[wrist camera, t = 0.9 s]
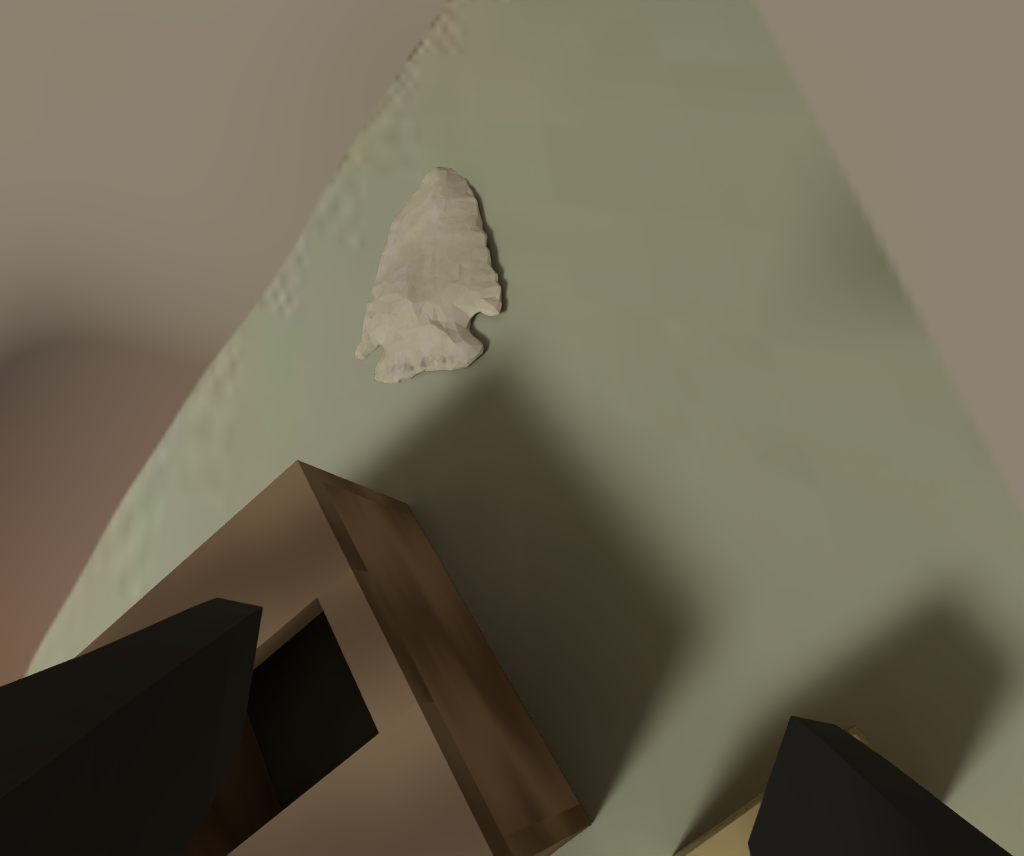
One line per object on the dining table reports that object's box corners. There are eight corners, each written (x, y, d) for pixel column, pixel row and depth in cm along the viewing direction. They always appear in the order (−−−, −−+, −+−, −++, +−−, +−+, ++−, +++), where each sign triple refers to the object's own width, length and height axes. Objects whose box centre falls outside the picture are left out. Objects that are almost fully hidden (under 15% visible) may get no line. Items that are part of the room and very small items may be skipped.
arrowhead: (329, 374, 28) (362, 181, 32) (356, 395, 29) (384, 208, 33) (489, 343, 25) (501, 138, 29) (509, 368, 27) (518, 170, 31)
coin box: (591, 824, 20) (501, 872, 15) (336, 1012, 21) (172, 1116, 16) (407, 504, 26) (297, 460, 21) (216, 666, 27) (69, 663, 22)
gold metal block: (932, 819, 17) (953, 852, 14) (734, 954, 18) (706, 1018, 14) (855, 724, 18) (855, 733, 15) (672, 855, 19) (633, 892, 16)
